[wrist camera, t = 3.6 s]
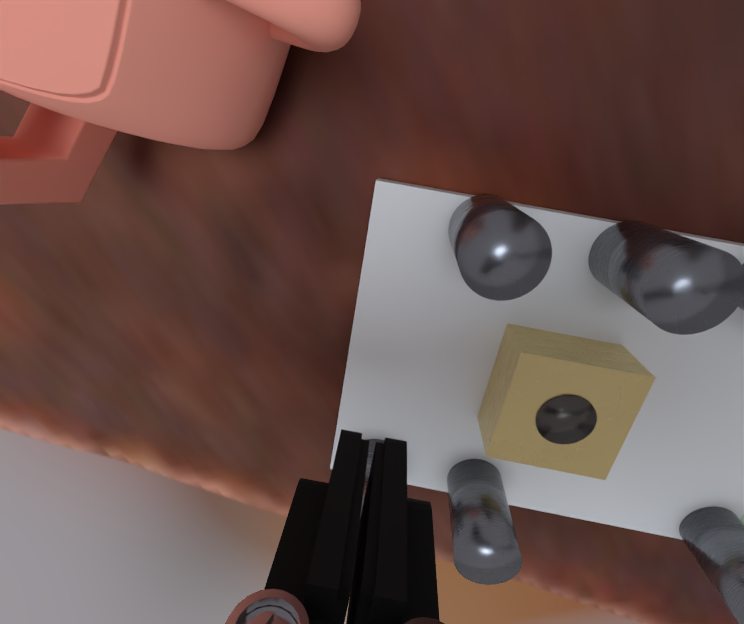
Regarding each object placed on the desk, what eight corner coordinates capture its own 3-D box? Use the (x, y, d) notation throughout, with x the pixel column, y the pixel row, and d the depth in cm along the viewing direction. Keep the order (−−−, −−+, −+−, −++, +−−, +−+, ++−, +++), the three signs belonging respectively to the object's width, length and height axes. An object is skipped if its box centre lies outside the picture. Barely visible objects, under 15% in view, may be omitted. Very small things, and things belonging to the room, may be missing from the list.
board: (1109, 309, 15) (1156, 320, 14) (878, 563, 20) (901, 583, 19) (378, 177, 16) (376, 180, 15) (333, 454, 20) (329, 468, 20)
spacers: (916, 270, 14) (1097, 316, 10) (722, 551, 19) (796, 648, 15) (399, 178, 14) (393, 190, 11) (346, 475, 20) (329, 552, 16)
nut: (622, 345, 16) (656, 378, 14) (581, 437, 18) (606, 481, 15) (506, 323, 16) (521, 353, 14) (477, 417, 18) (486, 457, 15)
